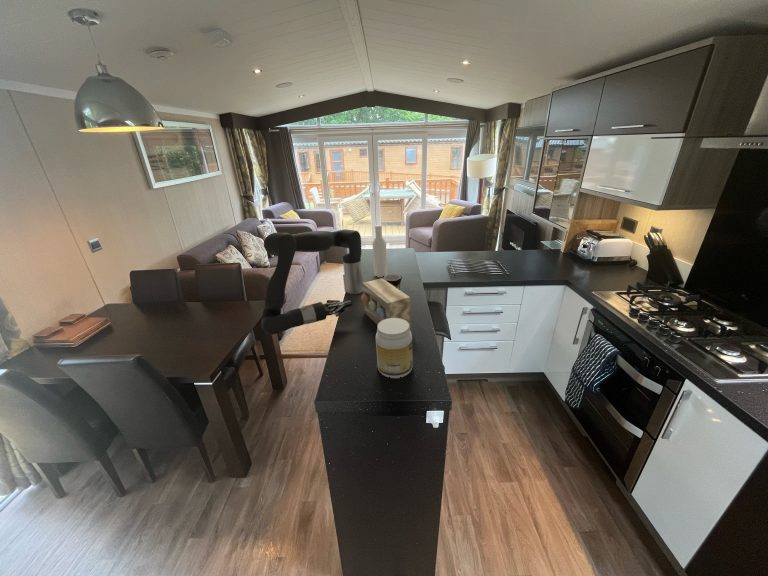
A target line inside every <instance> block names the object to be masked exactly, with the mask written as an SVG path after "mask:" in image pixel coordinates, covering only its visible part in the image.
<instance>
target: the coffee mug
mask: <svg viewBox="0 0 768 576" xmlns="http://www.w3.org/2000/svg"><path fill="white" fill-rule="evenodd" d="M383 279H384V280H386V281H387V282H388V283H390V284H391V285H393V286H394V287H396V288H397V289H399V290H400V291H401V282H402V279H403V278H402V275H399V274H395V273H392V274H391V273H390V274H387V275H386V276H384V277H383Z"/></svg>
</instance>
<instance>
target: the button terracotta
mask: <svg viewBox="0 0 768 576" xmlns="http://www.w3.org/2000/svg"><path fill="white" fill-rule="evenodd" d="M360 299H361V303H362V304H363V305H364V304H368V303H369V297H368V295H367V294H365V295H363V294H362V295H361V298H360Z"/></svg>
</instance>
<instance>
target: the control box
mask: <svg viewBox="0 0 768 576" xmlns="http://www.w3.org/2000/svg"><path fill="white" fill-rule="evenodd" d="M362 286H363V292H362V295H365V294H367V295H368V297H369V302H370V301H373V300H374V301H375V302H376V305H377V309H378V308H381V307H382V308H383V309H384V311H385V317H384V318H381V319H379V318H378V316H377V314H376V310H375V311H371V310H370V309H369V305H368V304H363V307H364V314H365V315H367V316H368V317H369V319H370V320H372V321H373V322H374V323H375V324H376V325H377V326H378V324H379V323H380V322H381V321H382V320H385V319H388V318H400V319H403V320H406V321H407V322H408V323H409V328H410V329H411V297H410V296H409V295H407V293H404V292H403V291H402V290H401V289H400V290H399V289H397V288H396V287H394V286H393V285H391V284H390V283H388V282H387V281H386V280H384V277H380V278H376V279H373V280H370V281H364V282H363V283H362Z"/></svg>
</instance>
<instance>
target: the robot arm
mask: <svg viewBox="0 0 768 576" xmlns="http://www.w3.org/2000/svg"><path fill="white" fill-rule="evenodd" d="M360 233H361V232H360V231H358V230H355V229H346V228H345V229H340V230H335V231H328V230H312V231H305V232H298V233H289V232H272V233H270V234H268V235H267V236H266V237H265V238H264V241H263V247H264V250H265V252H267V253H268V254H269V255H271V256H274V257H277V262H276V266H275V269H274V270H273V273H272V275H271V277H270V279H269V281H268V283H267V285H266V289H265V296H264V308H263V312H262V317H261V324H260V326H261V329H262V331H263V333H265V334H266V335H270V336H273V335H277V334H280V333H283V332H285V331H288V330H290V329H292V328H296V327H300V326H304V325H310V324H315V323H317V322H321V321H324V320H326V319H327V317H328V316H333V315H335V317H336V318H338V317H340V315H342V314H343V313H344V312H345V311H346V310H345V309H346V308H350V307H352V306H353V305H354V303H353V301H352V300H351V299H350V300H346V301H340V300H339V299H337V300H335V299H332V300H331V299H326V303H325V302H324V303H323V302H322V301H319V302H314V303H311V304H308V305H304V306H302V307H298V308H294V309H290V310H288V311H286V312H285V313H284V312H283V313H282V309H283V306H284V300H285V294H286V285H287V282H288V278H289V274H290V271H291V268H292V264H293V261H294V257H295V254H296V252H297V253H298V252H300V253H319V252H325V251H328V250H330V249H331V248H334V247H338V248H344V249H348V253H346V254H344V255H343V256H342V263H343V272H344V274H343V275H342V276H343V278H342V279H343V286H344V287H343V288H344V292H345V293H347V294H348V295H358V294H361V293H363V286H362V283H364V282H363V272H362V271H363V270H362V268H363V267H362V260H361V259H362V258H361V257H362V237H361V234H360ZM347 288H348V289H347Z"/></svg>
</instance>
